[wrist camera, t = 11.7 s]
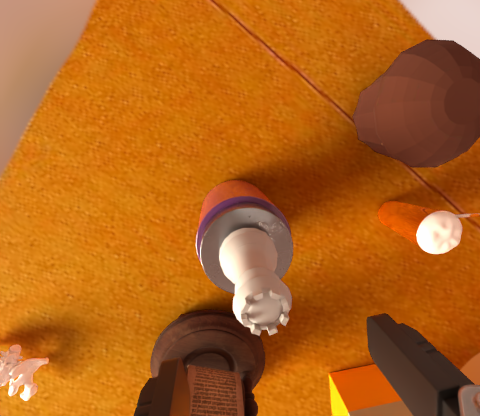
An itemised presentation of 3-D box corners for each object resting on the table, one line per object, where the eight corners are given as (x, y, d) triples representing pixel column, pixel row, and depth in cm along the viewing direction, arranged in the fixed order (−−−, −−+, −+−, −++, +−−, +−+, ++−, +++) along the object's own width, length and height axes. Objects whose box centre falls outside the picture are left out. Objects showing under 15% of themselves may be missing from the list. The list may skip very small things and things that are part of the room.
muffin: (449, 124, 33) (547, 116, 23) (376, 182, 34) (441, 197, 24) (402, 37, 30) (491, -12, 20) (323, 103, 31) (373, 86, 21)
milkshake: (417, 205, 35) (494, 229, 25) (388, 235, 36) (452, 270, 26) (394, 183, 34) (466, 199, 24) (365, 215, 35) (423, 243, 25)
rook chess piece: (240, 214, 21) (256, 257, 13) (285, 245, 22) (326, 302, 14) (207, 259, 21) (204, 326, 13) (252, 287, 22) (273, 365, 14)
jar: (194, 187, 32) (183, 211, 21) (263, 174, 32) (290, 190, 21) (208, 251, 34) (206, 305, 23) (273, 238, 34) (302, 285, 23)
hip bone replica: (-50, 396, 31) (-39, 355, 29) (-18, 365, 35) (-7, 327, 33) (22, 415, 33) (36, 377, 31) (45, 383, 37) (58, 347, 35)
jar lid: (192, 210, 22) (190, 216, 20) (280, 193, 22) (286, 198, 21) (210, 291, 24) (210, 303, 22) (292, 274, 24) (298, 284, 22)
